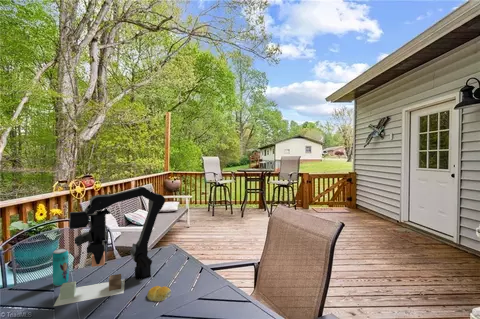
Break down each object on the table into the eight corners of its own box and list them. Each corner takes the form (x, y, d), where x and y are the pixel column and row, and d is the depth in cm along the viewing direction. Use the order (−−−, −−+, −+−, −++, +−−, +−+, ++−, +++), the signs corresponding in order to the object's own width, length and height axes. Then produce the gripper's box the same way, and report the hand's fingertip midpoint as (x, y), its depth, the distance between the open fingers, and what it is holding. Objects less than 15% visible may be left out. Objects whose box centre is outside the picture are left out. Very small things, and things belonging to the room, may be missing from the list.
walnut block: (121, 283, 113) (121, 273, 113) (120, 288, 108) (120, 278, 108) (109, 286, 111) (109, 275, 111) (108, 290, 107) (108, 280, 107)
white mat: (124, 280, 117) (124, 279, 117) (123, 294, 105) (123, 293, 105) (62, 291, 108) (62, 290, 108) (53, 308, 96) (53, 306, 96)
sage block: (75, 292, 106) (75, 281, 106) (73, 297, 102) (73, 286, 102) (63, 294, 104) (62, 283, 104) (60, 299, 100) (60, 288, 100)
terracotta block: (104, 261, 113) (104, 251, 113) (103, 265, 109) (103, 254, 109) (93, 262, 111) (93, 252, 111) (91, 267, 107) (91, 256, 107)
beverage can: (60, 288, 111) (60, 253, 110) (49, 286, 112) (49, 252, 112) (71, 281, 116) (71, 248, 116) (61, 280, 117) (60, 247, 117)
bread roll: (154, 291, 108) (154, 281, 108) (173, 293, 106) (173, 283, 106) (142, 301, 100) (142, 291, 100) (163, 304, 98) (163, 294, 98)
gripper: (80, 222, 115) (80, 257, 115) (71, 233, 98) (71, 274, 98) (108, 219, 120) (108, 253, 120) (104, 230, 102) (104, 269, 102)
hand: (98, 261), depth 110 cm, fingers closed on terracotta block, 4 cm apart
